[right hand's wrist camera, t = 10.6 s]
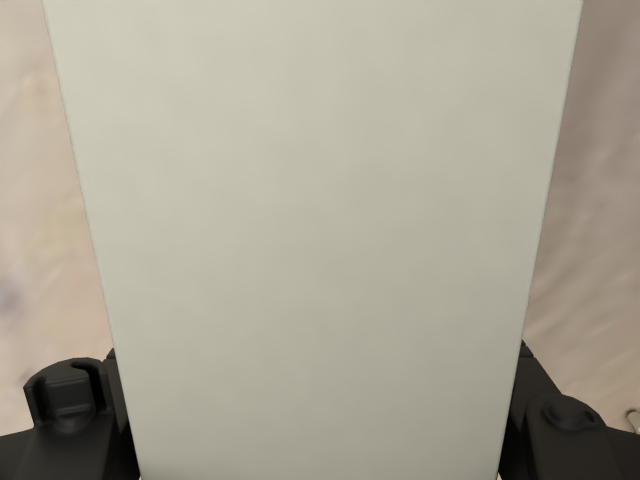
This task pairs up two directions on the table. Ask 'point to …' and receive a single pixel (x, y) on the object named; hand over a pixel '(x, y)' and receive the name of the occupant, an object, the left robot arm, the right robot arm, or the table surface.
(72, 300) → the table surface
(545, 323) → the table surface
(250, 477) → the post
